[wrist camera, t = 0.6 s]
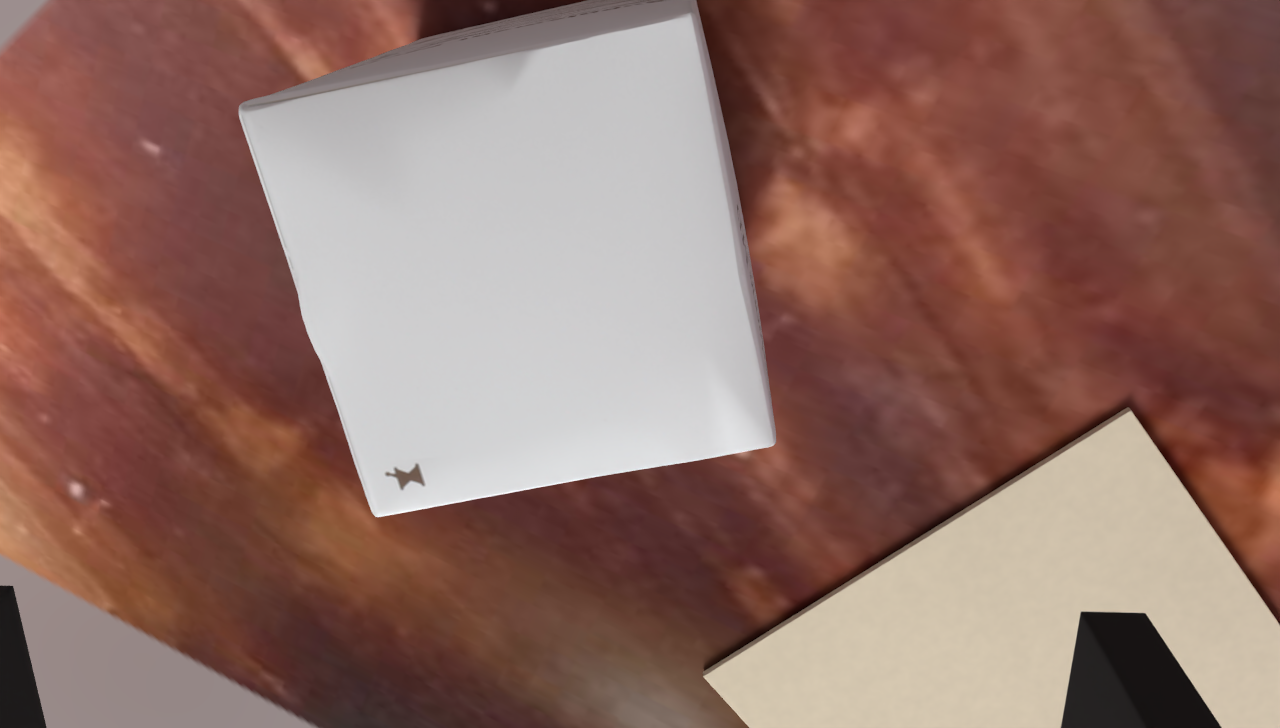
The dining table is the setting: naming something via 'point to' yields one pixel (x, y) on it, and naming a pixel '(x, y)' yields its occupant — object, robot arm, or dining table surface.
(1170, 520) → the placemat
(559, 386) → the rectangular carton
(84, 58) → the dining table surface
